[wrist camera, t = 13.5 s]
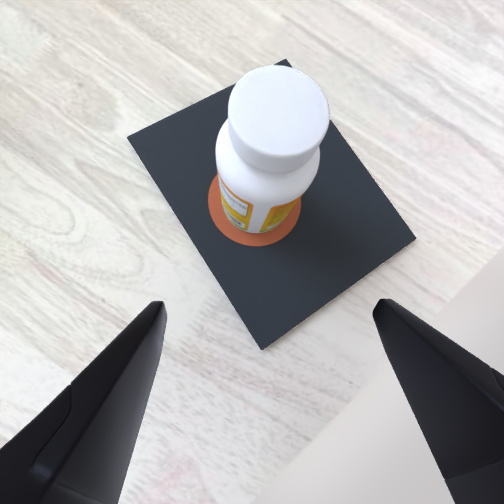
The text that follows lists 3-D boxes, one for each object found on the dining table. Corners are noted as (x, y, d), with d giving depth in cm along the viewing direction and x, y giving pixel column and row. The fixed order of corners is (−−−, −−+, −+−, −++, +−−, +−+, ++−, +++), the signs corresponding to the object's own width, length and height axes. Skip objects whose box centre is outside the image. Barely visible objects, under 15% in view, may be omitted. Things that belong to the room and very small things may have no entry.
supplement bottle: (290, 176, 19) (351, 60, 9) (285, 238, 18) (346, 183, 8) (226, 166, 18) (218, 35, 9) (217, 230, 17) (199, 162, 8)
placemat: (412, 239, 19) (418, 238, 19) (260, 348, 17) (261, 351, 16) (284, 63, 21) (286, 57, 20) (129, 140, 18) (125, 135, 18)
